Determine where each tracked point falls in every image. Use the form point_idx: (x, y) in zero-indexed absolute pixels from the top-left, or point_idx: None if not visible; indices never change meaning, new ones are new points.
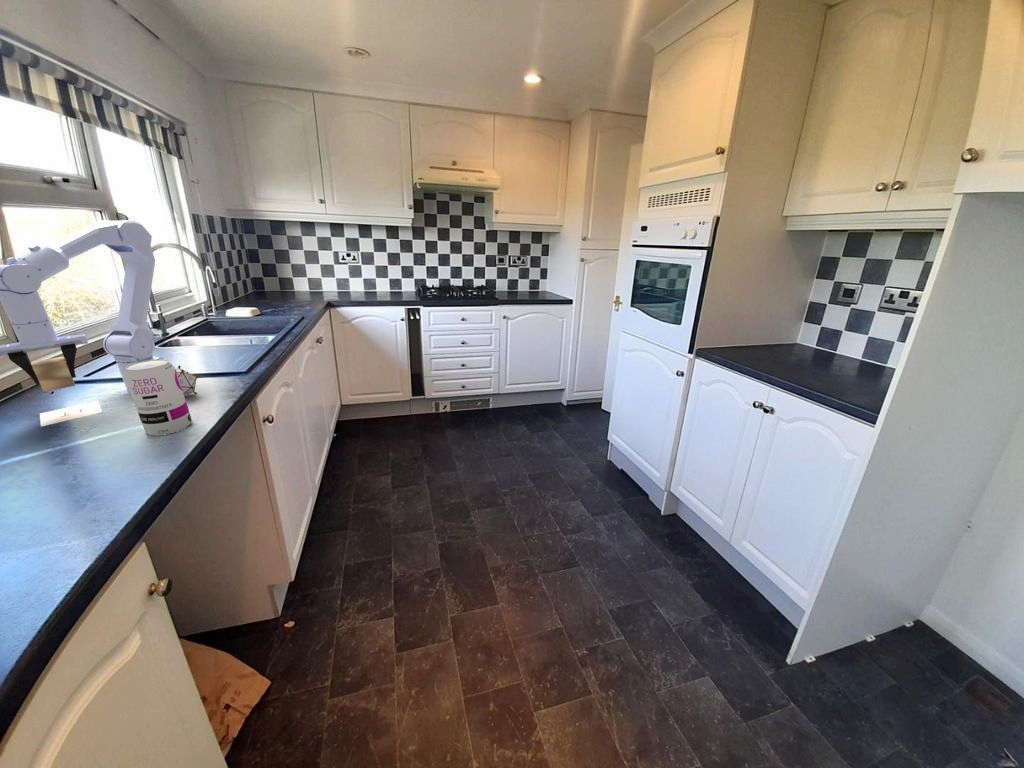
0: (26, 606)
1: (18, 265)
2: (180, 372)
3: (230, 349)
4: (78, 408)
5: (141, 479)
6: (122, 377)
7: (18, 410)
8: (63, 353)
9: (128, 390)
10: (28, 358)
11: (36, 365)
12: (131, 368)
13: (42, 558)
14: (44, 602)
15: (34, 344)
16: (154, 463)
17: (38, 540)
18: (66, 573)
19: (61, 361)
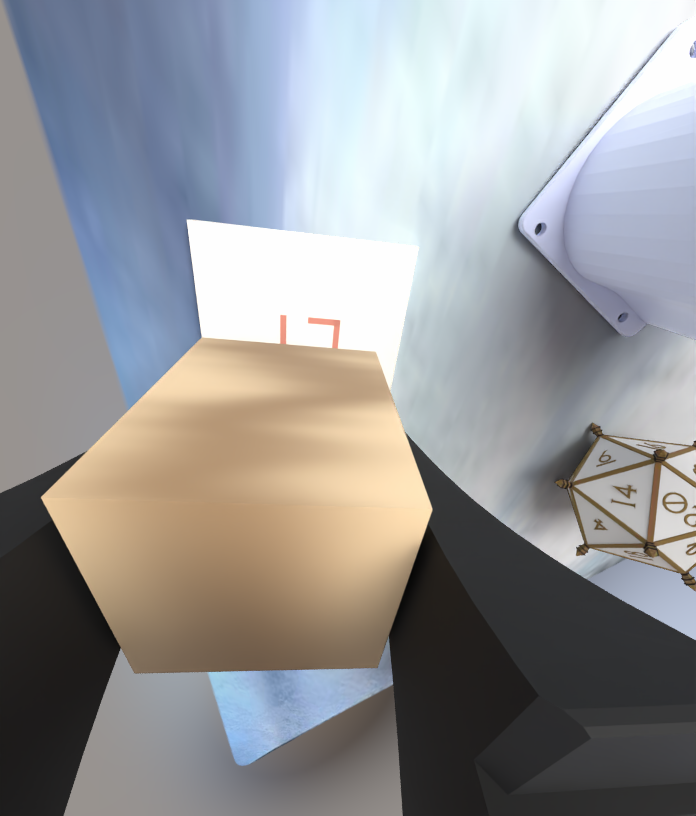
0: (241, 754)
1: None
2: (679, 571)
3: None
4: (333, 301)
5: (340, 693)
6: (648, 195)
7: None
8: (407, 790)
9: (570, 222)
10: (4, 676)
11: (165, 664)
12: None
13: (248, 734)
14: (251, 755)
15: None
16: (365, 676)
17: (244, 720)
18: (263, 746)
19: (355, 666)
